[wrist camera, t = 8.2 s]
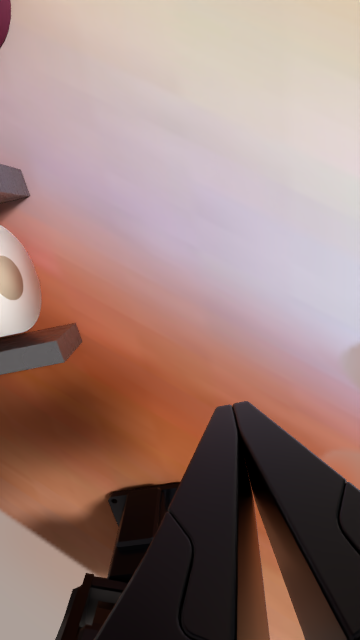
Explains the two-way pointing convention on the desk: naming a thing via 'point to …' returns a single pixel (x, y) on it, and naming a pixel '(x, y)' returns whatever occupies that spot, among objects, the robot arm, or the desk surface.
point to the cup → (4, 19)
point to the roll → (17, 287)
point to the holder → (40, 344)
